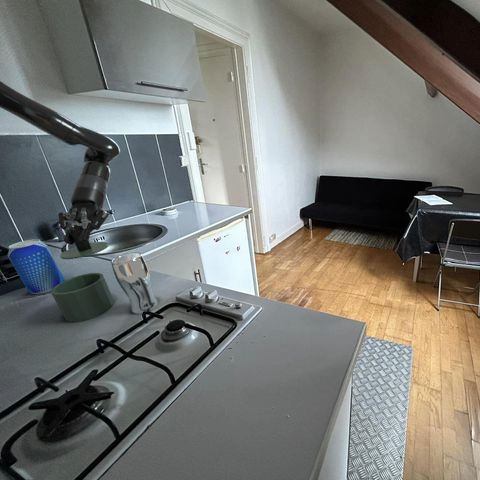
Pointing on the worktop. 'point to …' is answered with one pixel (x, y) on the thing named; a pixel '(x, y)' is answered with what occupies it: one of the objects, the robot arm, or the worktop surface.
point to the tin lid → (82, 246)
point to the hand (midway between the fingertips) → (75, 242)
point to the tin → (83, 297)
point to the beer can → (35, 266)
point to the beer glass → (135, 281)
